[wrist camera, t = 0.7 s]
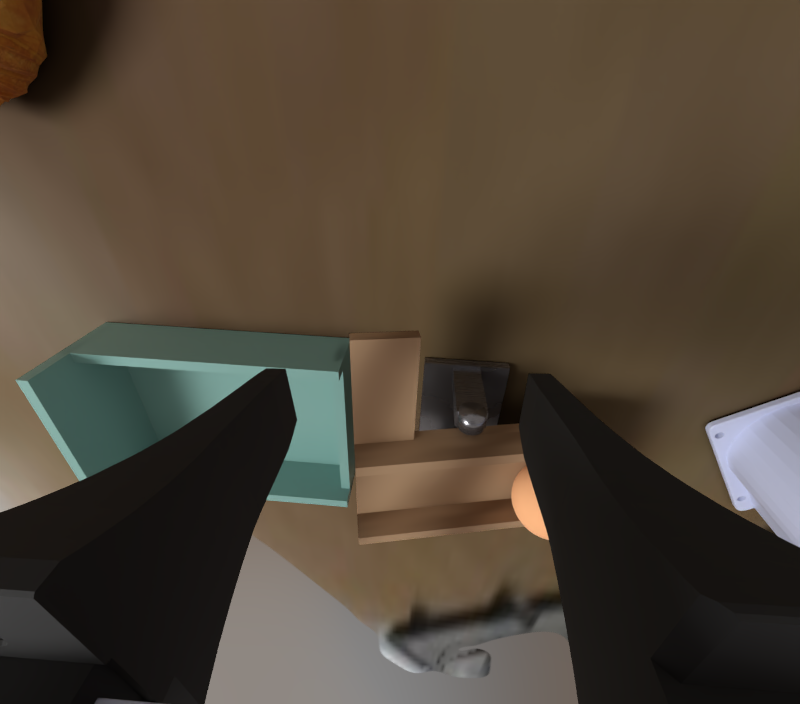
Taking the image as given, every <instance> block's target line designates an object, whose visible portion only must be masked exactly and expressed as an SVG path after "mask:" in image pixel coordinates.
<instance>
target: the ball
mask: <svg viewBox="0 0 800 704" xmlns="http://www.w3.org/2000/svg"><path fill="white" fill-rule="evenodd" d="M511 498H512V505H513V508H514V511H515V513H516V515H517V517H518V519H519V520H520V522H521V523H522V524H523V525H524V526H525V527H526V528H527V529H528V530H529V531H531V532H532V533H533V534H535V535H537V536H539V537H541V538H544V539H547V540H549V538H548V534H547V531H546V527H545V524H544V521H543V518H542V514H541V511H540V508H539V505H538V502H537V498H536V495H535V492H534V489H533V486H532V482H531V479H530V476H529V473H528V469H527V466H525V467H524V468H523V469H522V470H521V471H520V472H519V473H518V475H517V476H516V478H515V480H514V482H513V486H512V492H511Z"/></svg>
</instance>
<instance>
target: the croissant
mask: <svg viewBox="0 0 800 704" xmlns="http://www.w3.org/2000/svg"><path fill="white" fill-rule="evenodd" d="M46 57H47V53H46V47H45V42H44V36H43V26H42V0H0V106H1V105H2V104H3V103H4V102H5V101H6V102H9V100H10V99H12V98H16V97H19V96H21V95H23V94H25V93H28V92H27V88H28V85H29V84H30V83H31V82H32V81H33V80H34V79H35V78H36V77H37V74H38V69H39V65H40V64H41V63H42V62H43V61H44V60H45V58H46Z"/></svg>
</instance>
